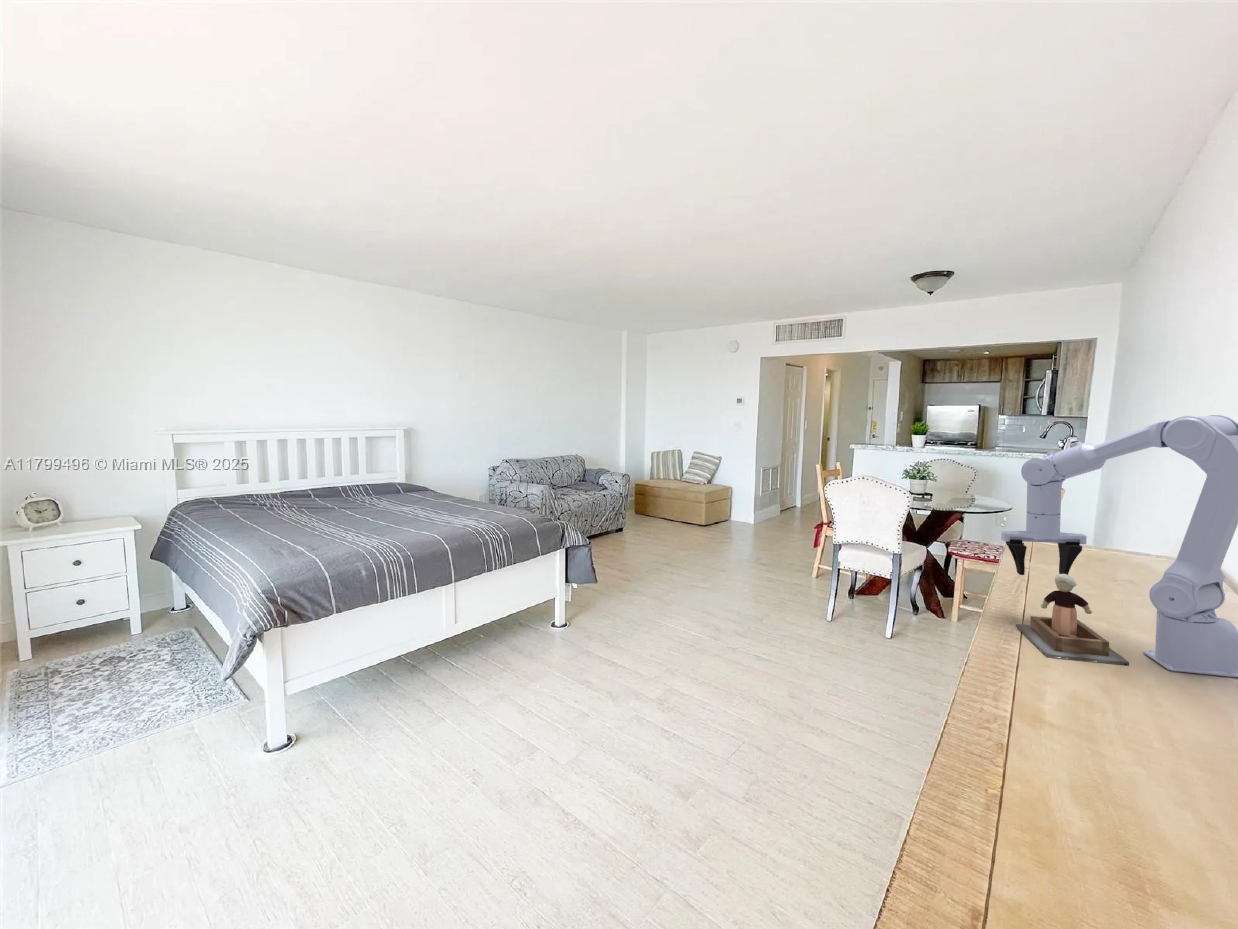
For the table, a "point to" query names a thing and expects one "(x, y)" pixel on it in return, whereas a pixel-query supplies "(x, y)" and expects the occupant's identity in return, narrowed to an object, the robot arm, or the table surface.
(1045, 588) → the table surface
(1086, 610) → the grandmother figurine
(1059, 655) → the wooden tray
